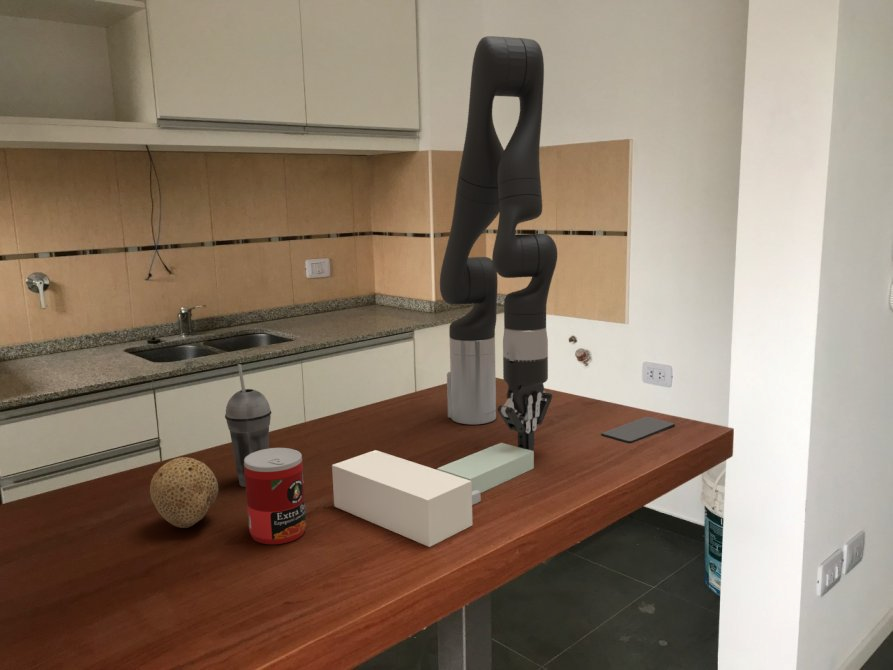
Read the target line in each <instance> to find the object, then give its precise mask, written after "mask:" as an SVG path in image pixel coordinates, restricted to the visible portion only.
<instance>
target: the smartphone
mask: <svg viewBox="0 0 893 670" xmlns="http://www.w3.org/2000/svg"><path fill="white" fill-rule="evenodd" d="M674 427H676V424H675V423H674V422H671V421H668V420H663V419H658V418H655V417H651V416H644V417H641V418H638V419H636V420H633V421H630V422H628V423H625V424H622V425H620V426H617V427H614V428H612V429H608V430H606V431H603V432H601V433H600V436H602V437H605V438H607V439H610V440H611V439H612V440H616V441H620V442H623V443H625V444H633V443H635V442H638V441H639V442H640V440H644V439H646V438H649V437H651V436H654V435H656V434H660V433H662V432H665V431H667V430H670V429H672V428H674Z"/></svg>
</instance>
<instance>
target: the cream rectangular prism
mask: <svg viewBox="0 0 893 670" xmlns="http://www.w3.org/2000/svg"><path fill="white" fill-rule="evenodd" d="M331 469H332V471H331V473H332V487H333V488H332V490H333V504H334V505H333V507H334V508H337V509H340V510H342V511H344V512H347V513H349V514H352V515H353V516H355V517H359V518H360V519H363V520H365V521H368V522H370V523H372V524H375V525H377V526H379V527H382V528H384V529H387V531H392V532H393V533H396V534H397V535H398V534H399V535H401V536H403V537H406V538H407V539H410V540H413V541H415V542H417V543H418V544H421V545H424V546H425V547H428V548H431V547H433V546H434V545H436V544H437V545H438V544H439V543H441V542H442V541H444V540H446V539H448V538H450V537H452V536H454V535H456V534H458V533H460V532H461V531H462V532H463V531H464V530H466V529H468V528H470V527H471V526H473V505H476V504H478V503H479V502H481V495H482V494H481V492H480V491H477V490H475V491H472V481H470V480H467V479H464V478H461V477H457V476H454V475H451V474H448V473H445V472H442V471H439V470H437V468H436V469H435V468H432V467H430V466H426V465H423V464H420V463H417V462H415V461H410V460H407V459H404V458H402V457H398V456H396V455H392V454H389V453H386V452H383V451H380V450H376V449H374V450H373V451H368V452H366V453H363V454H360V455H357V456H354V457H351V458H348V459H346V460H343V461H340V462H337V463H333V464H331Z"/></svg>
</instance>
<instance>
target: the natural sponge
mask: <svg viewBox="0 0 893 670" xmlns="http://www.w3.org/2000/svg"><path fill="white" fill-rule="evenodd" d="M149 494H150V499H151V501H152V503H153V505H154V506H155V509H156V511H157V512H158V514H160V516H161V517H162V518H163V519H164V520H165V521H166V522H168V523H169V524H170V525H172V526H174V527H177V528H180V529H189V528H191V527H193V526H195V525H196V524H197V523H199V521H201V520H203V518H204V517H205V516H206V515H207V513H208V511H209V509H210V507H211V506H212V505H213V504H214V503H215V502H216V500H217V498H218V495H219V483H218V479H217V478H216V476H215V474H214V472H213V470H211V469H210V467H209V466H207V464H206V463H204V462H203V461H200V460H198V459H196V458H194V457H193V458H192V457H188V456H187V457H185V456H184V457H183V456H182V457H176V458H173V459H171V460H169V461H167V462H166V463H164V464H163V465H162V466H161V467H160V468H158V470H157V471H156V472H155V473H154V474H153V475H152V479H151V480H150V485H149Z"/></svg>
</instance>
